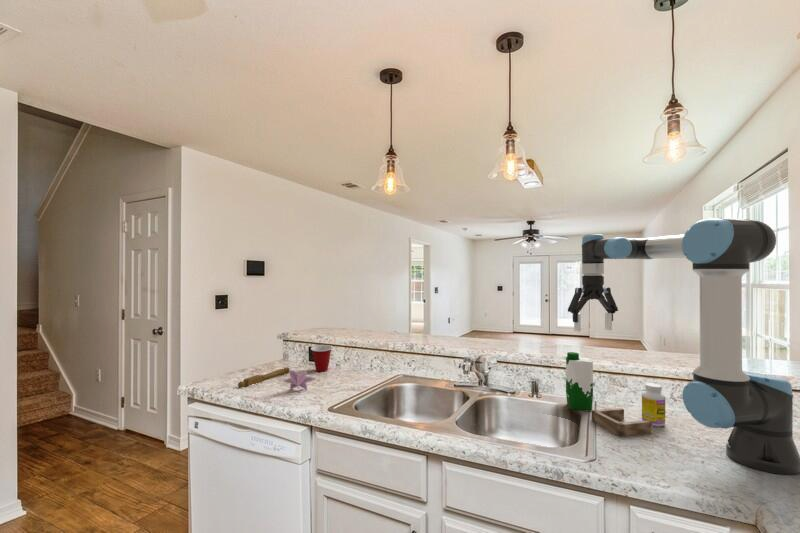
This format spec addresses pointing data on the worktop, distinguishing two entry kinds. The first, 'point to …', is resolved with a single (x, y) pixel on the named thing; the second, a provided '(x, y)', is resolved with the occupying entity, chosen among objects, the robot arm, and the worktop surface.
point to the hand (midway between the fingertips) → (593, 330)
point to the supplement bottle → (653, 404)
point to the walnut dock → (622, 429)
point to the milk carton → (579, 382)
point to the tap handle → (262, 377)
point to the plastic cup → (321, 357)
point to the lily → (298, 379)
